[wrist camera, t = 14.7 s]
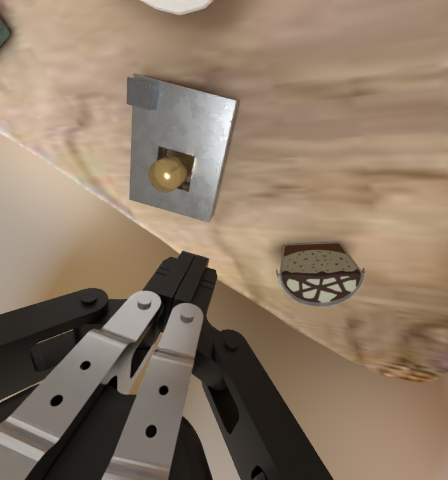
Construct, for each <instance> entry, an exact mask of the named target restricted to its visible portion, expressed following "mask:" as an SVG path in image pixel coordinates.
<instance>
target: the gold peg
mask: <svg viewBox="0 0 448 480" xmlns="http://www.w3.org/2000/svg"><path fill="white" fill-rule="evenodd" d="M193 164H194V160H193V158H192V157H191V156H190V155H189V154H185V153H182V152H175V153H173V154H171V155H169V156H167V157H165V158H162V159H160V160H158V161H156V162H154V163H153V164H152V165H151V166H150V168H149V171H148V177H149V181H150V183H151V184H152V186H153V187H154V188H155V189H156V190H158V191H160V192H163V193H169V192H172V191H174V190H175V189H176V188H177V187H178V186H180V185H181V184H182V183H183V182H184V181H185V180H187V179H188V178H189V177H190V176H191V175H192V170H193Z"/></svg>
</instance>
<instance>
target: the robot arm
mask: <svg viewBox="0 0 448 480" xmlns="http://www.w3.org/2000/svg"><path fill="white" fill-rule="evenodd" d="M208 262H209V258H206V257H203V256H199V255H196V254H192V253H189V252H185V251H182V252H181V254H180V256H179V257H178V259H177V258H173V257H170V258H168V259H166V260H164V261H163V262H162V264H161V265H160V266H159V268H158V269H157V271H156V272H155V273H154V275H153V276H152V278H151V279H150V280H149V282H148V283H147V285H146V286H145V288H144V289H143V290H142V291H139V292H136V293H134V294H133V295H131V296H130V297H129V298H128V299H119V300H118V299H108V295H107V294H106V293H105V292H104V291H103V290H101V289H97V288H88V289H83V290H80V291H77V292H73V293H70V294H67V295H63V296H60V297H57V298H54V299H51V300H47V301H44V302H40V303H37V304H34V305H30V306H27V307H24V308H20V309H17V310H13V311H10V312H7V313H4V314H0V400H1V399H4V398H6V397H8V396H10V395H12V394H14V393H16V392H18V391H21V390H23V389H24V388H27V387H29V386H31V385H33V384H35V383H37V382H39V381H42V380H43V381H42V382H41V383H40V384H38V385H35V386H33V387H30V388H28V389H26V390H24V391H22V392H20V393H18V394H16V395H14V396H12V397H10V398H8V399H6V400H4V401H2V402H1V403H0V480H213V479H212V475H211V472H210V469H209V466H208V463H207V459H206V456H205V453H204V450H203V447H202V444H201V441H200V439H199V437H198V435H197V433H196V431H195V430H194V428H193V427H192V425H191V424H190V423H189V422H188V420H186V419H185V418H184V417H183V416H182V414H183V409H184V405H185V400H186V396H187V391H188V386H189V382H190V378H191V373H192V374H193V375H195V376H196V377H197V378H199V379H200V380H201V381H202V386H203V389H204V392H205V394H206V396H207V399H208V401H209V403H210V406H211V408H212V411H213V413H214V416H215V418H216V421H217V423H218V425H219V428H220V430H221V433H222V435H223V438H224V440H225V443H226V445H227V447H228V450H229V452H230V455H231V457H232V460H233V462H234V465H235V467H236V469H237V472H238V474H239V477H240V479H241V480H333V478H332V476H331V475H330V473H329V472H328V470H327V469H326V467H325V465H324V464H323V462H322V461H321V459H320V457H319V456H318V454H317V453H316V451H315V449H314V448H313V446H312V445H311V443H310V441H309V440H308V438H307V437H306V435H305V433H304V432H303V430H302V429H301V427H300V425H299V424H298V422H297V421H296V419H295V418H294V416H293V414H292V413H291V411H290V410H289V408H288V406H287V405H286V403H285V402H284V400H283V398H282V397H281V395H280V394H279V392H278V390H277V389H276V387H275V386H274V384H273V383H272V381H271V379H270V378H269V376H268V374H267V373H266V371H265V370H264V368H263V367H262V365H261V363H260V362H259V360H258V359H257V357H256V356H255V354H254V353H253V351H252V349H251V347H250V346H249V344H248V343H247V341H246V340H245V338H244V337H243V336H242V335H241V334H240V333H238V332H236V331H234V330H223V331H219V330H217V329H216V328H214V327H213V326H212V325H211V324H210V323H209V322H208V320H207V317H206V314H207V311H208V307H209V304H210V301H211V298H212V295H213V291H214V287H215V284H216V280H217V274H216V270H214V269H211V268H207V266H208ZM72 329H73V330H72ZM69 330H72V331H69ZM66 331H69V332H67V333H65V334H61V333H64V332H66ZM160 332H163V336H162V338H161V341H160V343H159V346H158V348H157V350H155V351H154V353H153V355H152V357H151V360H150V363H149V365H148V368H147V370H146V373H145V375H144V378H143V381H142V383H141V385H140V388H139V391H138V393H137V395H129V392H130V389H131V387H132V384H133V382H134V381H135V379H136V377H137V376H138V374H139V372H140V370H141V369H142V367H143V365H144V363H145V362H146V360H147V358H148V357H149V355H150V354H151V352H152V350H153V348H154V346H155V344H156V340H157V338H158V336H159V334H160ZM58 334H61V335H59V336H56V335H58ZM54 336H56V337H54ZM51 337H54V338H51ZM48 338H51V339H49V340H46V339H48ZM43 340H46V341H43ZM41 341H43V342H41ZM38 342H41V343H38ZM37 343H38V344H37Z"/></svg>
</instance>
